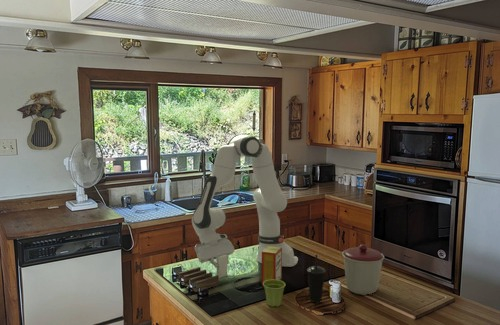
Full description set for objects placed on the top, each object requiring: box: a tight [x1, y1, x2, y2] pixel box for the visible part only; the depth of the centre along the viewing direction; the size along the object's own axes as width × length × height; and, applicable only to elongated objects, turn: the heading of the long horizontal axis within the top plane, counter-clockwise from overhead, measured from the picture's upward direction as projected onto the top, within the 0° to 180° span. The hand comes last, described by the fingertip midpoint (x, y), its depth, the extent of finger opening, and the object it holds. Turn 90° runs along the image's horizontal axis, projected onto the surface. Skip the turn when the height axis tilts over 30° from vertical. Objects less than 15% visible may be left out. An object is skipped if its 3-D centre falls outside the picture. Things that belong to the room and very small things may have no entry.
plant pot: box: [262, 279, 287, 308], centre depth 172 cm, size 9×9×9 cm
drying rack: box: [175, 266, 222, 292], centre depth 193 cm, size 16×14×4 cm
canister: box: [341, 243, 385, 296], centre depth 185 cm, size 18×18×21 cm
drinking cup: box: [306, 254, 326, 303], centre depth 174 cm, size 8×8×20 cm
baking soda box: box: [261, 246, 283, 285], centre depth 195 cm, size 10×6×16 cm
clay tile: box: [215, 255, 228, 279], centre depth 202 cm, size 2×5×10 cm, turn 132°
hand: (222, 265), depth 202 cm, fingers closed on clay tile, 5 cm apart
